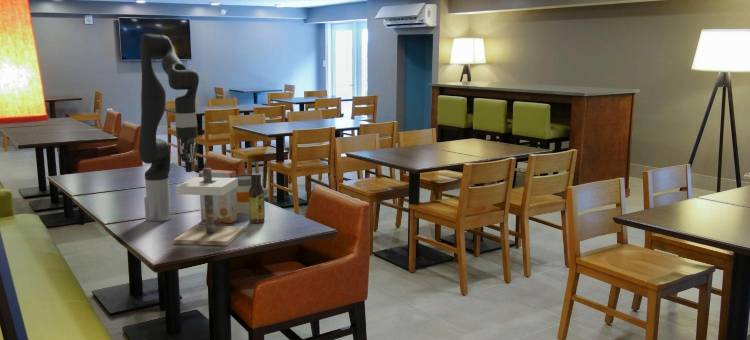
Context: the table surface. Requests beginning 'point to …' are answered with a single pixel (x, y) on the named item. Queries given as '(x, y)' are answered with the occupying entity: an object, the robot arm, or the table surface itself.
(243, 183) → the reusable coffee cup
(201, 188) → the off-white slab
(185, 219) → the table surface
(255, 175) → the sauce bottle
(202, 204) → the cracker box
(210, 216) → the pipe stand
